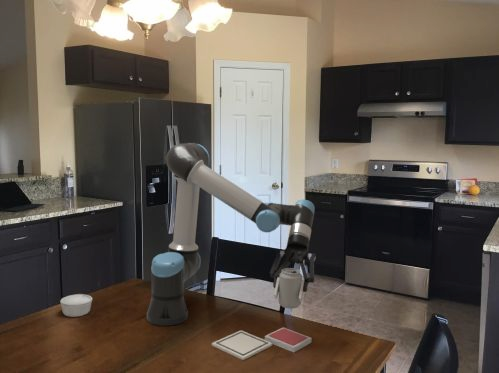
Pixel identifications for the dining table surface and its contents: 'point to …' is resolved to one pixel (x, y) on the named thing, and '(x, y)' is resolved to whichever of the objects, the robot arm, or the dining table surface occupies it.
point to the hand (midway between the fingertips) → (287, 298)
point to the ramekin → (76, 305)
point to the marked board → (242, 344)
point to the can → (289, 287)
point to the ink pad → (288, 339)
